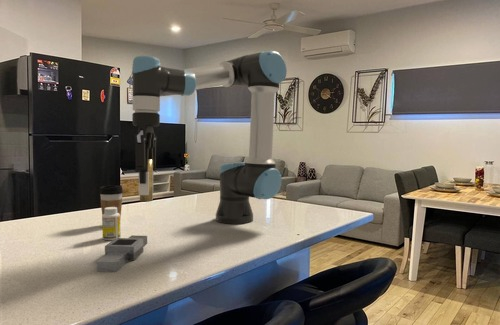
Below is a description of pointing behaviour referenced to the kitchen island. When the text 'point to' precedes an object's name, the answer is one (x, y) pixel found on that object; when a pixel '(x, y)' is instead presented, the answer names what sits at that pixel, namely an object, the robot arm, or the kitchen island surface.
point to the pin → (149, 197)
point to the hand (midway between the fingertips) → (146, 193)
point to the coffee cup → (111, 197)
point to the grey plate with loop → (121, 252)
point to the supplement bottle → (111, 223)
